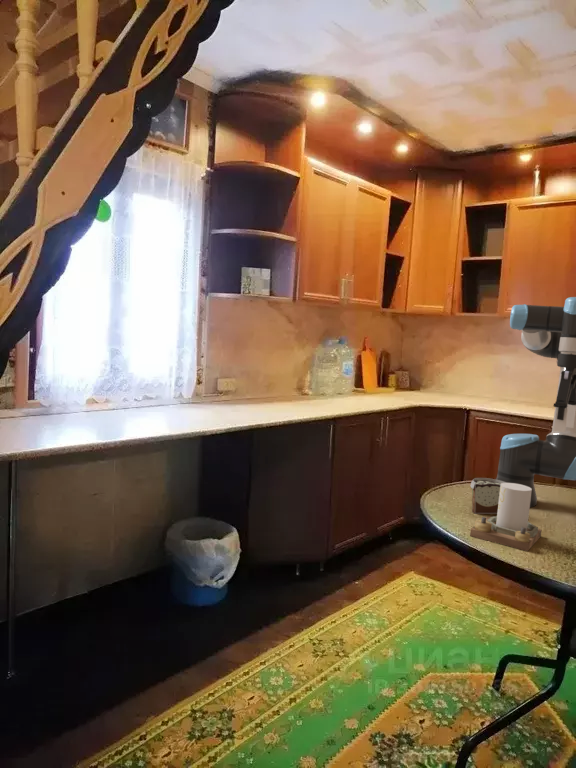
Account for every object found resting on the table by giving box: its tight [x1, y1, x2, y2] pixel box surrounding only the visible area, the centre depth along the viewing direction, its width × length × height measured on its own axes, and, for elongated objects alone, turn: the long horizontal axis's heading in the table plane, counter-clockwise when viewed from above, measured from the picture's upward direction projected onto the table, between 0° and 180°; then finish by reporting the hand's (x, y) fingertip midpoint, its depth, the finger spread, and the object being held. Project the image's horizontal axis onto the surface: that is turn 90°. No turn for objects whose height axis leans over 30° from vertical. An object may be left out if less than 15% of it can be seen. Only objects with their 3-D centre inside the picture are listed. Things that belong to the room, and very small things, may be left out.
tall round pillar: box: [496, 483, 532, 531], centre depth 162 cm, size 8×8×12 cm
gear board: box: [469, 516, 542, 552], centre depth 162 cm, size 16×15×5 cm
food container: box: [469, 477, 506, 515], centre depth 185 cm, size 12×6×10 cm, turn 104°
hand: (563, 429), depth 163 cm, fingers open, 13 cm apart
